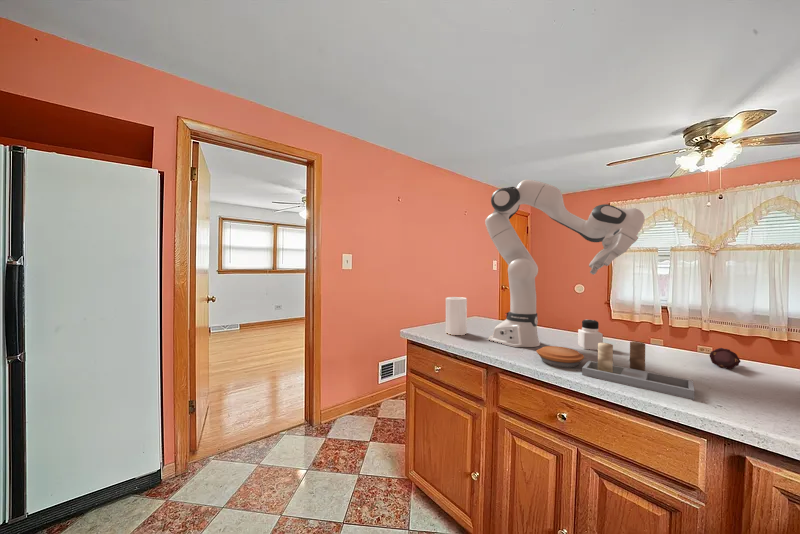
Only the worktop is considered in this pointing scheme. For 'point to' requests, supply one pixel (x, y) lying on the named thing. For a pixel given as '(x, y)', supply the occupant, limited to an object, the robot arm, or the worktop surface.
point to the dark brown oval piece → (724, 358)
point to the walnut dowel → (637, 356)
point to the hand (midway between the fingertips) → (598, 269)
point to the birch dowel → (605, 357)
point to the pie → (560, 356)
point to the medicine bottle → (589, 335)
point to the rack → (642, 379)
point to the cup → (456, 315)
